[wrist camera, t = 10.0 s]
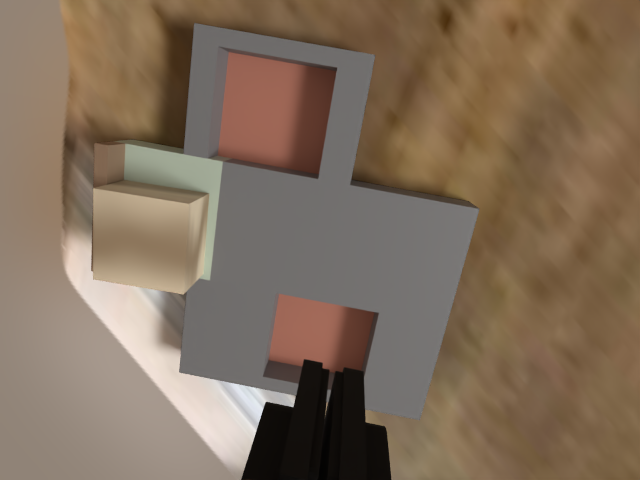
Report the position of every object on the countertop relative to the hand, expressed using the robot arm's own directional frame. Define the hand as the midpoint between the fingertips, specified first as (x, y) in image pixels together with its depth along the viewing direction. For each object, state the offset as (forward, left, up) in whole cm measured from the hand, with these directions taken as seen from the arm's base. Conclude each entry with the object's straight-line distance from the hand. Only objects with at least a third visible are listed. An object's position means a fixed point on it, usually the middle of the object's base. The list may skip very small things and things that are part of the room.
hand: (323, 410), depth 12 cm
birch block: (+1, -11, -17) cm, 20 cm away
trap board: (0, -4, -19) cm, 19 cm away
